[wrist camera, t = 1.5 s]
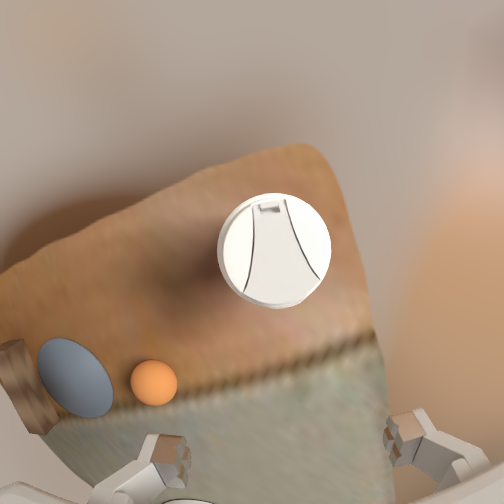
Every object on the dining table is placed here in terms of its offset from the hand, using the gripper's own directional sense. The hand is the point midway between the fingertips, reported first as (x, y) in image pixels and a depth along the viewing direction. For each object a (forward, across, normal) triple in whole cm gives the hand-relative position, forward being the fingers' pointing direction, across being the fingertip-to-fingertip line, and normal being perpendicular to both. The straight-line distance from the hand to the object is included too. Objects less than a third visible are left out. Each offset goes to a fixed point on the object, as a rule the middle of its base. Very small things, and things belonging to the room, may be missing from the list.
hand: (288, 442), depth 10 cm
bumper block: (+21, -37, -15) cm, 45 cm away
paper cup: (+25, 0, +3) cm, 25 cm away
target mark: (+21, -28, -14) cm, 38 cm away
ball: (+19, -14, -11) cm, 26 cm away
